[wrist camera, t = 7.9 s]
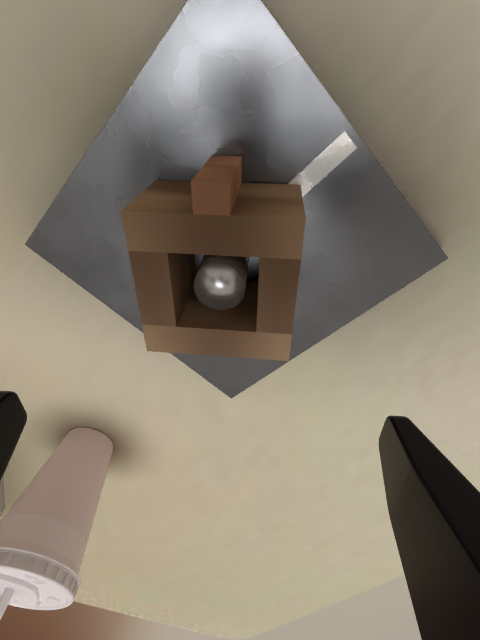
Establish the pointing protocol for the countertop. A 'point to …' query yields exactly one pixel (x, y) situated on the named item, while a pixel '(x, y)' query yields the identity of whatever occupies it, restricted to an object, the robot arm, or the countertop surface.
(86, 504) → the smoothie
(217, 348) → the wooden cubby with handle
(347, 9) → the countertop surface
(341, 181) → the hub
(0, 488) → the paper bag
